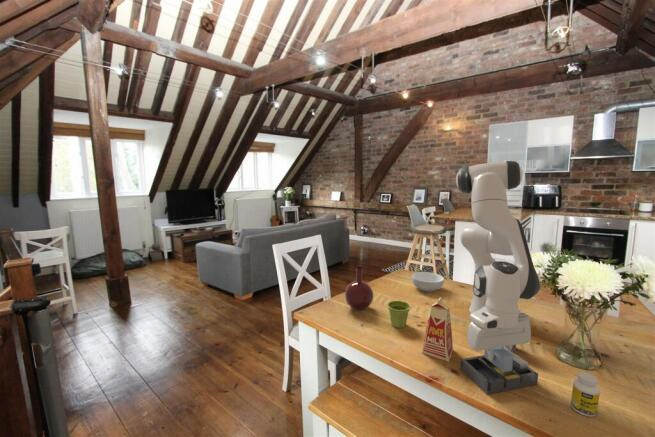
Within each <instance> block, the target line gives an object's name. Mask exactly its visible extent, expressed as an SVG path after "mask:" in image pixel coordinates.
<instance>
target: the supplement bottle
mask: <svg viewBox="0 0 655 437" xmlns="http://www.w3.org/2000/svg"><path fill="white" fill-rule="evenodd" d="M598 380H599V379H598V378H597V377H596V375H594V374H592V373H589V372H585V371H579V372H578V373H577V378H576V379H574V380H573V382H572V383H573V384H572V392H571V399H570V405H571V406H570V407H571V408H572V409H573V410H574V411H575V412H577V413H578V414H580V415H582V416H584V417H585V416H586V417H591V418H592V417H596V416H597V413H598V410H599V409H598V407H599V401H600V395H601V394H600V393H601V389H600V387H599V386H598V383H599V382H598Z"/></svg>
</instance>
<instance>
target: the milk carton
mask: <svg viewBox="0 0 655 437" xmlns="http://www.w3.org/2000/svg"><path fill="white" fill-rule="evenodd" d="M450 312H451V311H450V307H449V306H448V305H447V304H446V303H445V302H444V301H443V299H442V297H441V296H440V297H439V299H437V301H436V302H434V303H432V304H431V306H430V310H429V313H428V317H427V320H426V330H425V336H424V341H423V344H422V350H421V353H422V354H424V355H428V356H429V357H434V358H436V359H440V360H443V361H446V362H449V361H450V358H451V356H452V355H453V354H452V353H453V350H454V345H453V344H454V342H453V340H454V339H453V332H452V330H453V328H452V319H451V313H450Z"/></svg>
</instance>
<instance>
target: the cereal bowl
mask: <svg viewBox="0 0 655 437" xmlns="http://www.w3.org/2000/svg"><path fill="white" fill-rule="evenodd" d="M444 281H445V278H444V276H442V275H440V274H438V273H434V272H427V271H420V272H414V273H413V274H412V275H411V282H412V284H413V285H414V286H415V287H416V288H417V289H419V290H420V291H423V292H435V291H438V290H440V289H442V287H443V286H444V283H445V282H444Z"/></svg>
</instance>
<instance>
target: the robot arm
mask: <svg viewBox="0 0 655 437" xmlns="http://www.w3.org/2000/svg"><path fill="white" fill-rule="evenodd" d="M522 179H523V170H522V168H521V166H520V163H518V162H517V161H515V160H506V161H490V162H487V163H486V162H485V163H480V164H474V165H470V166H469V165H466V166H462V167H460V168H459V169H458V171H457V173H456V176H455V183H456V184H455V185H456V187H457V188H458V191H460V192H461V193H463V194H468V195H469V194H470V195H471V198H470V199H471V203H470V204H471V215H472V219H473V221H474V222H475V224H477V225H478V226H477V225H476V226H466V227H465V228H463V230H462V231H461V233H460V237H459V238H460V243H461V245H462V246H463V247H464V248H465V250H467V252H469V254H470V256H471V257H472V260H473V263H474V277H473V278H474V279H473V288H472V289H473V295H472V299H471V303H470V307H469V309H468V310H469V313H470V314H469V319H470V320H469V321H471V322H470V323H469V324H468V327H467V332H466V333H467V335H466V342H467V345H468V346H469V347H470V348H472V349H473V350H474V351H476V352H477V351H485V349H486V351H487V352H488V359H490V360H491V361H492V360H496V355H495V354H494V353H493V352H492V351H494V348H498V347H504V349H505V350H507V351H508V352H510V351H511V349H512V347H513V345H516V346H517V345H523V344H529V343H530V342H531V337H532V328H531V323H530V320H531V316H529V315H528V314H527V313H526V312H523V311H522V310H520V306H519V299H523V300H530V299H532V298H533V297H535V296H536V295H538V293H539V292H540V289H541V283H540V282H541V280H540V278H539V274H538V273H537V270H536V268H535V266H534V262H533V260H532V255H531V252H530V248H529V244H528V240H527V237H526V234H525V230H524V228H523V226H522V223H521V221H520V219H518V218H516V217H514V215H513V214H512V213H511V211H510V209H509V208H510V207H509V206H508V205H509V203H508V197H507V196H508V194H507V191H506V190H508V191H509V190H513V189H517V188H518V187H519V186H520V185H521V182H522ZM492 254H493V255H501V256H506V257H507V256H509V257H510V256H511V257H512V256H513V260H514V263H511V262H508V261H504V260H503V261H501V260H500V261H499V260H498V261H497V260H495V259H494V257H493V256H492Z"/></svg>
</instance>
